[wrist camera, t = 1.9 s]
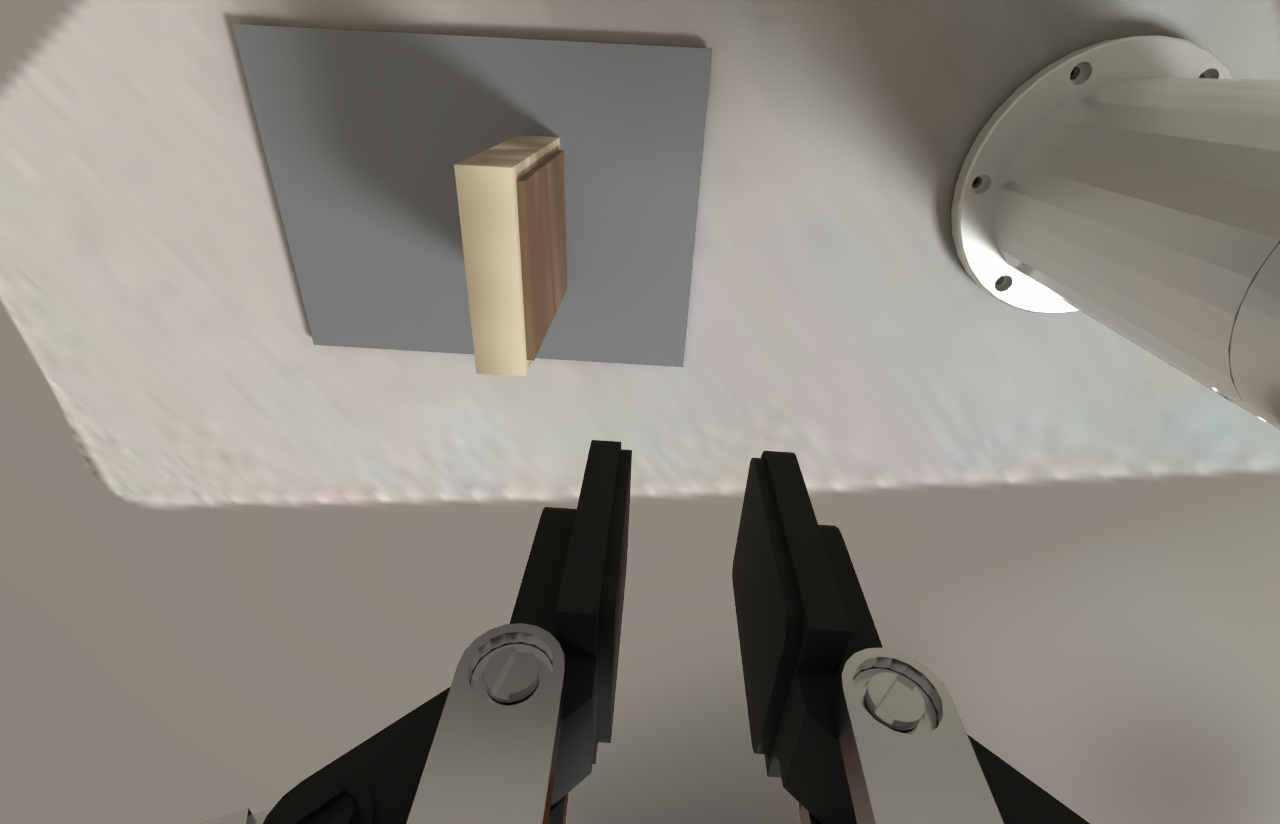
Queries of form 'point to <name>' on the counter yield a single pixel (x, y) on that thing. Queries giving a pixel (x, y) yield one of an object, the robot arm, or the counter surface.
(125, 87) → the counter surface
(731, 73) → the counter surface
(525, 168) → the birch tile
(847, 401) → the counter surface
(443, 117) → the rubber mat
